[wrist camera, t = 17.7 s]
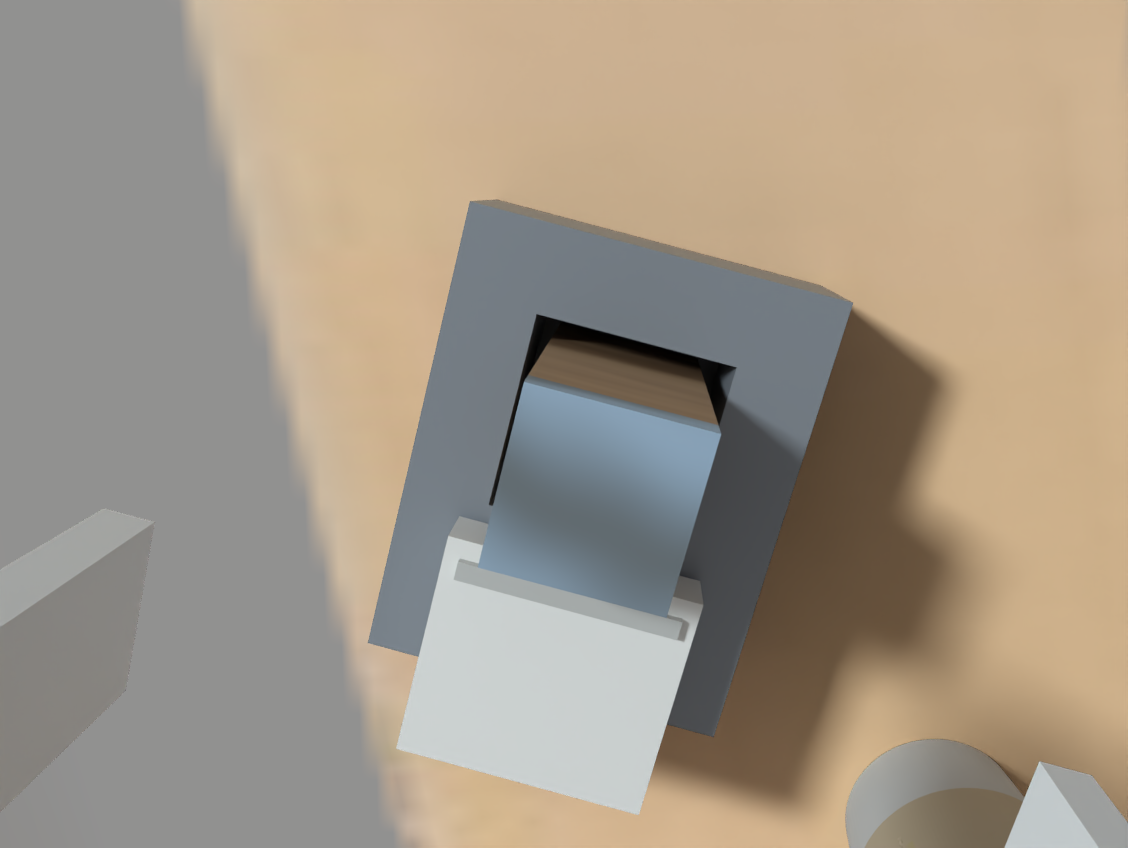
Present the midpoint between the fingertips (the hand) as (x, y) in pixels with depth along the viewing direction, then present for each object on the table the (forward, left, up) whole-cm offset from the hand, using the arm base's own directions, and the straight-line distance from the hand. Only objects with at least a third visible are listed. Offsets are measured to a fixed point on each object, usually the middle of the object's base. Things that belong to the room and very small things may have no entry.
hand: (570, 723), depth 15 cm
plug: (0, 0, -24) cm, 24 cm away
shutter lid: (+8, 0, -18) cm, 20 cm away
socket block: (+2, 0, -25) cm, 25 cm away
